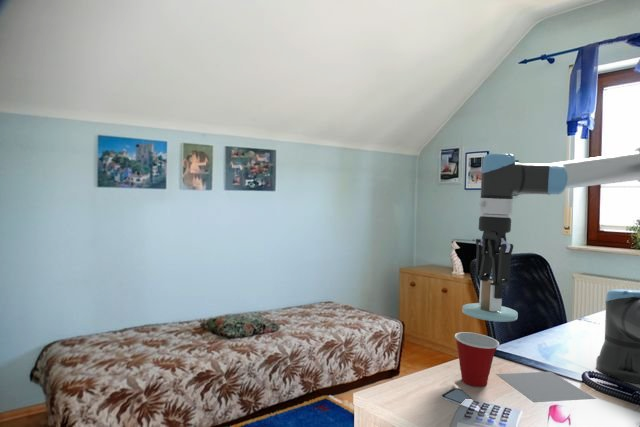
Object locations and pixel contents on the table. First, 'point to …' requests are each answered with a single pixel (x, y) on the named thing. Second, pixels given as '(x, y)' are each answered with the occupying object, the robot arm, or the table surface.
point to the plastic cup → (475, 357)
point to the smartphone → (455, 396)
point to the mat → (544, 386)
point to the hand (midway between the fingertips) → (489, 308)
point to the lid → (483, 310)
